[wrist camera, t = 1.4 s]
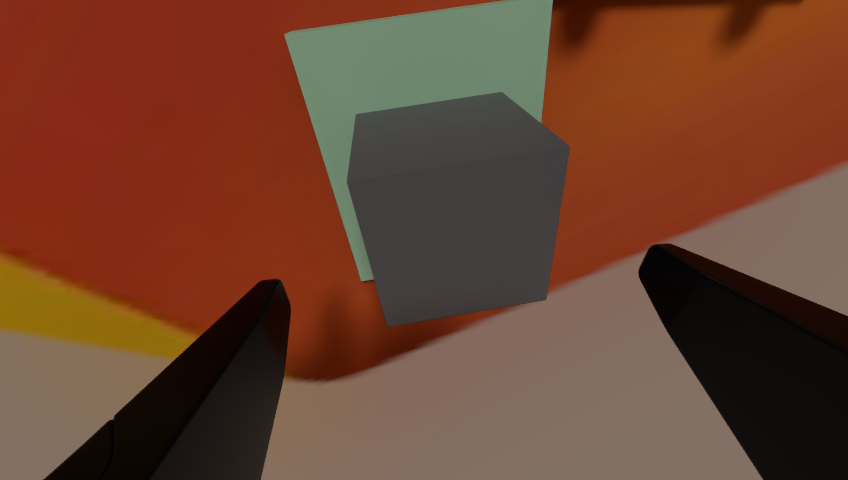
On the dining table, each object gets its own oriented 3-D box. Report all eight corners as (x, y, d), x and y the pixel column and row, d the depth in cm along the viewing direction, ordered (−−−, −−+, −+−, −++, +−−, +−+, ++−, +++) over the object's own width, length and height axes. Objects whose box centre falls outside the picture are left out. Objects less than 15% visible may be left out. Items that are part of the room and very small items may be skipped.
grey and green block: (537, -6, 11) (672, -1, 6) (519, 238, 17) (579, 340, 12) (292, 30, 11) (223, 65, 6) (362, 264, 17) (357, 379, 12)
